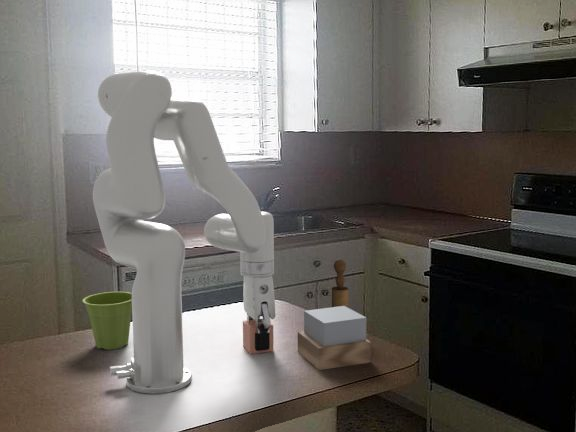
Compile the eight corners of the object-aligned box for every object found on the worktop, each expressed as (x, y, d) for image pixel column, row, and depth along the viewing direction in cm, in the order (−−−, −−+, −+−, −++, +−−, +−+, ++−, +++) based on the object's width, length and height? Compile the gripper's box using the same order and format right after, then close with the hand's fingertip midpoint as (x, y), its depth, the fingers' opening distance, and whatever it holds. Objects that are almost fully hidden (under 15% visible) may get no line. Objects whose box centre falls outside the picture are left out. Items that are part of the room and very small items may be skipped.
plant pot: (120, 333, 161) (118, 288, 159) (147, 345, 153) (146, 297, 151) (75, 345, 153) (72, 297, 151) (101, 357, 144) (99, 307, 143)
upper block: (324, 346, 137) (324, 323, 137) (304, 332, 146) (304, 310, 146) (366, 340, 141) (366, 317, 141) (344, 327, 150) (344, 305, 150)
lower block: (318, 371, 137) (318, 348, 136) (297, 353, 148) (297, 331, 147) (370, 364, 141) (370, 341, 140) (346, 346, 152) (346, 325, 152)
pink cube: (249, 353, 147) (249, 327, 146) (243, 346, 152) (242, 320, 151) (273, 350, 148) (273, 325, 148) (266, 343, 153) (265, 318, 153)
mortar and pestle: (358, 332, 161) (359, 260, 159) (342, 338, 156) (342, 264, 154) (337, 326, 166) (337, 256, 163) (320, 332, 161) (320, 260, 158)
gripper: (285, 273, 141) (286, 355, 143) (261, 258, 157) (262, 332, 159) (252, 276, 138) (253, 360, 141) (231, 261, 154) (232, 336, 157)
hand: (258, 344), depth 150 cm, fingers closed on pink cube, 5 cm apart
